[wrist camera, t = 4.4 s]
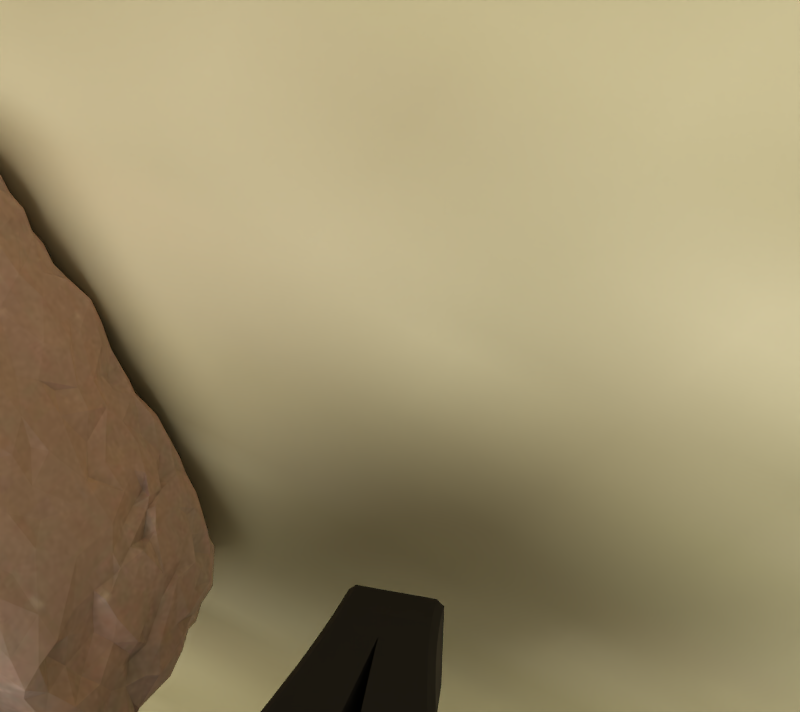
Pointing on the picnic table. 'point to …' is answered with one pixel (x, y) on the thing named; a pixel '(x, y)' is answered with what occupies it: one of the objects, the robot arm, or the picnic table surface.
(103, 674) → the brown faceted rock
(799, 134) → the picnic table surface
